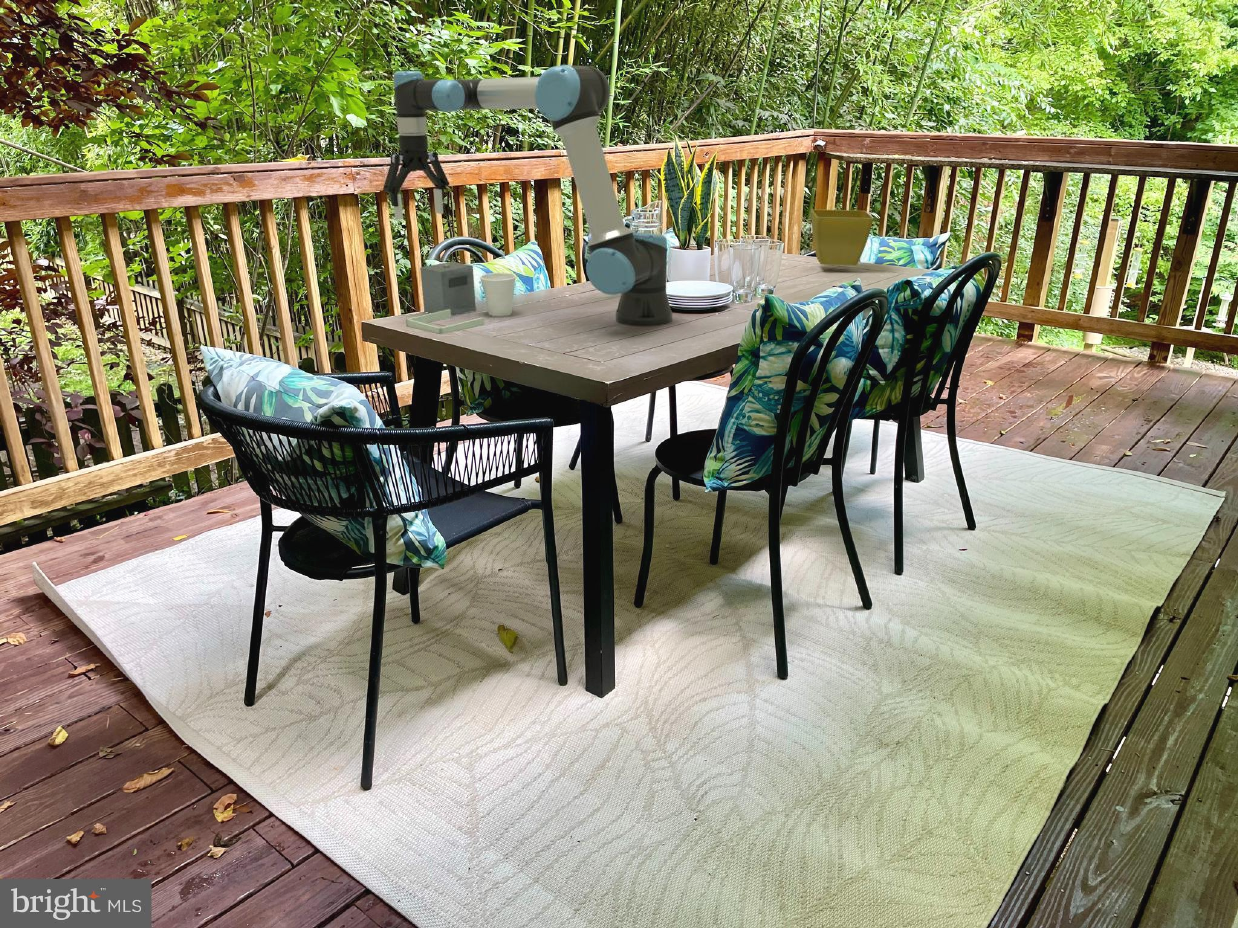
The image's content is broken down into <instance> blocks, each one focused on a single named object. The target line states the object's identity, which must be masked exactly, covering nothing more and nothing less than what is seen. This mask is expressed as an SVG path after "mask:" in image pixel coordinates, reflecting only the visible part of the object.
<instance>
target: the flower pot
mask: <svg viewBox="0 0 1238 928" xmlns="http://www.w3.org/2000/svg"><path fill="white" fill-rule="evenodd" d="M810 217H811V218H810V219H811V230H812V241H813V246H814V247H813V248H814V251H815V256H816V259H817V261H818V263H819V264H820V265H826V266H827V265H828V266H829V265H831V266H833V265H834V266H857V265H858V264H859V262H860V260H861V258H862V256H863V253H864V251H865V248H866V245H867V243H868V240H869V237H870V233H871V230H872V226H873V222H874V217H873V216H872V215H871V214H870V213H869V212H868V211H866V210H858V209H857V210H854V209H853V210H852V209H848V210H847V209H811V211H810Z"/></svg>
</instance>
